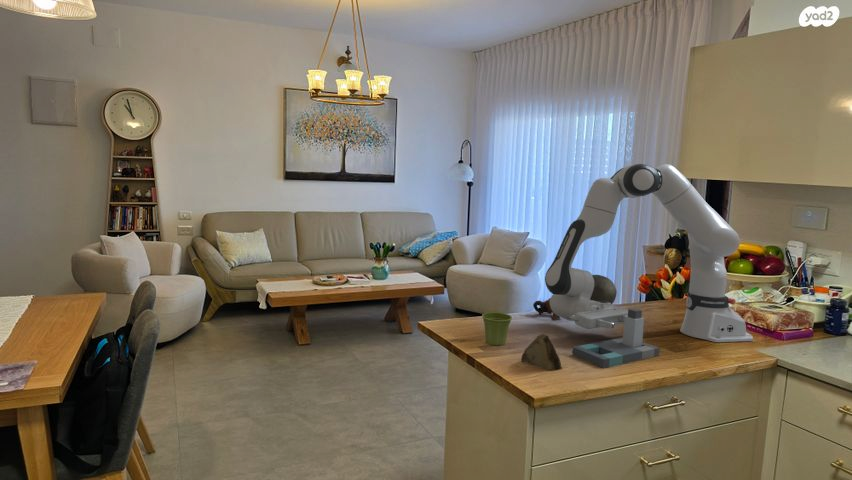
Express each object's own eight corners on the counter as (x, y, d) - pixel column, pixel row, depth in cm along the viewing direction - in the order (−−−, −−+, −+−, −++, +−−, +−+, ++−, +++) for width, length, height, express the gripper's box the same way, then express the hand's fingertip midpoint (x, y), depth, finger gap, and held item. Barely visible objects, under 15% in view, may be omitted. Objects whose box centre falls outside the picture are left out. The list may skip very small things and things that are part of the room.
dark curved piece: (557, 314, 217) (566, 298, 213) (560, 331, 210) (570, 315, 205) (528, 306, 216) (536, 290, 212) (530, 322, 208) (539, 306, 204)
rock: (510, 353, 161) (530, 360, 152) (525, 328, 163) (545, 333, 154) (536, 373, 165) (557, 380, 155) (550, 348, 167) (572, 354, 157)
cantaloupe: (588, 319, 210) (591, 279, 208) (569, 309, 223) (571, 272, 221) (621, 317, 214) (624, 278, 212) (600, 308, 227) (603, 271, 225)
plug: (630, 349, 176) (634, 307, 174) (641, 353, 173) (645, 310, 171) (621, 351, 174) (625, 308, 172) (632, 355, 171) (636, 311, 169)
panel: (626, 344, 181) (627, 336, 181) (658, 355, 171) (659, 347, 170) (572, 355, 169) (572, 347, 168) (603, 368, 159) (604, 359, 158)
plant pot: (514, 341, 180) (516, 315, 179) (504, 349, 172) (505, 321, 171) (487, 336, 184) (488, 310, 183) (476, 344, 176) (477, 317, 175)
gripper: (567, 307, 182) (600, 318, 170) (611, 301, 192) (645, 310, 180) (565, 326, 183) (598, 338, 171) (609, 319, 193) (643, 330, 181)
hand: (623, 324), depth 176 cm, fingers open, 8 cm apart
